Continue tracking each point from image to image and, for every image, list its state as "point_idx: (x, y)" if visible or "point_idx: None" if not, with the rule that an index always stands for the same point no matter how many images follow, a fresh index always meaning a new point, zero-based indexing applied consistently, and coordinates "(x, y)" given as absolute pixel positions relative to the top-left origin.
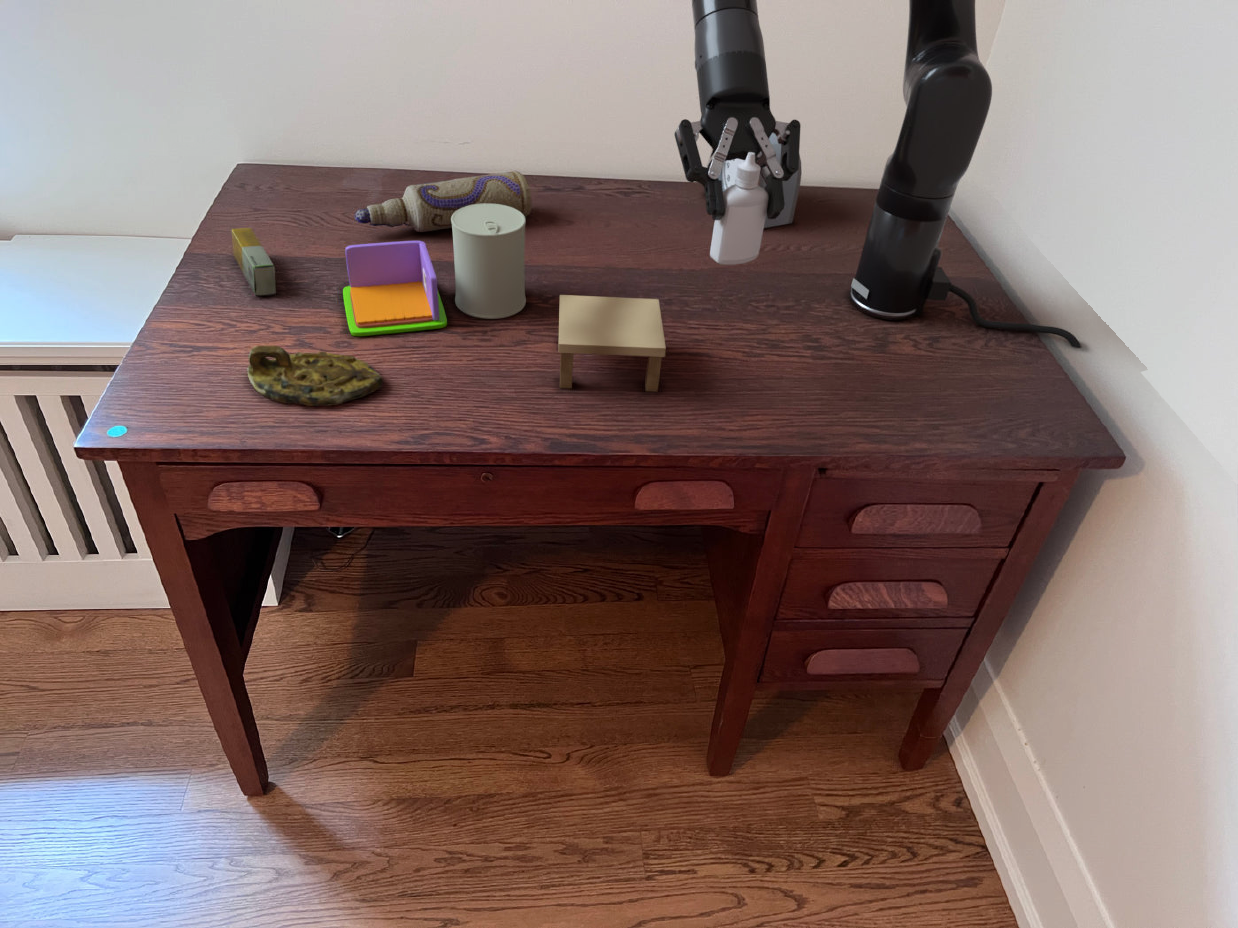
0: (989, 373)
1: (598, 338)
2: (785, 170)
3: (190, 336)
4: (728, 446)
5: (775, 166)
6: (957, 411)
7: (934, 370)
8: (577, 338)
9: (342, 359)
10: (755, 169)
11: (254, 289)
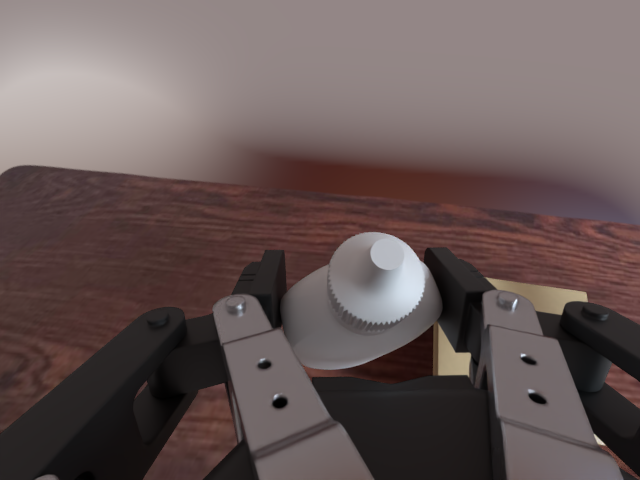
0: (3, 293)
1: (532, 300)
2: (193, 330)
3: None
4: (362, 202)
5: (239, 321)
6: (102, 230)
7: (66, 306)
8: (562, 302)
9: None
10: (359, 237)
11: None
